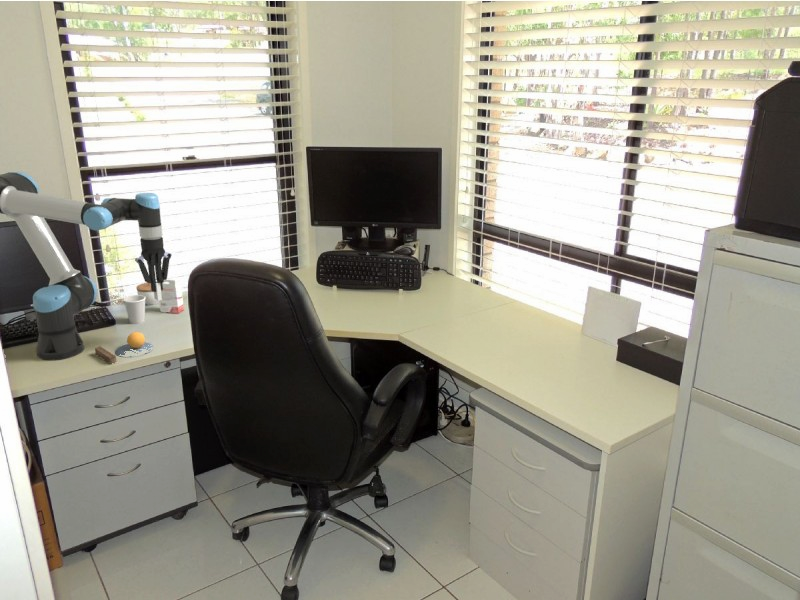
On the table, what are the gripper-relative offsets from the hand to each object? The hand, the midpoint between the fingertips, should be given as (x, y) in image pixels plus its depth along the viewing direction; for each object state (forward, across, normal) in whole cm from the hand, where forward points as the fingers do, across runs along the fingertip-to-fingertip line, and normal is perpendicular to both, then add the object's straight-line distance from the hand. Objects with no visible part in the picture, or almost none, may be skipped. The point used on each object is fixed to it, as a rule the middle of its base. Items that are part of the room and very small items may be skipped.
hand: (158, 299), depth 229 cm
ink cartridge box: (+17, -19, -27) cm, 37 cm away
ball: (+14, +10, -1) cm, 17 cm away
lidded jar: (+17, -18, -43) cm, 49 cm away
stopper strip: (+17, +22, 0) cm, 27 cm away
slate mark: (+17, +11, 0) cm, 20 cm away
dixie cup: (+17, -3, -26) cm, 31 cm away
